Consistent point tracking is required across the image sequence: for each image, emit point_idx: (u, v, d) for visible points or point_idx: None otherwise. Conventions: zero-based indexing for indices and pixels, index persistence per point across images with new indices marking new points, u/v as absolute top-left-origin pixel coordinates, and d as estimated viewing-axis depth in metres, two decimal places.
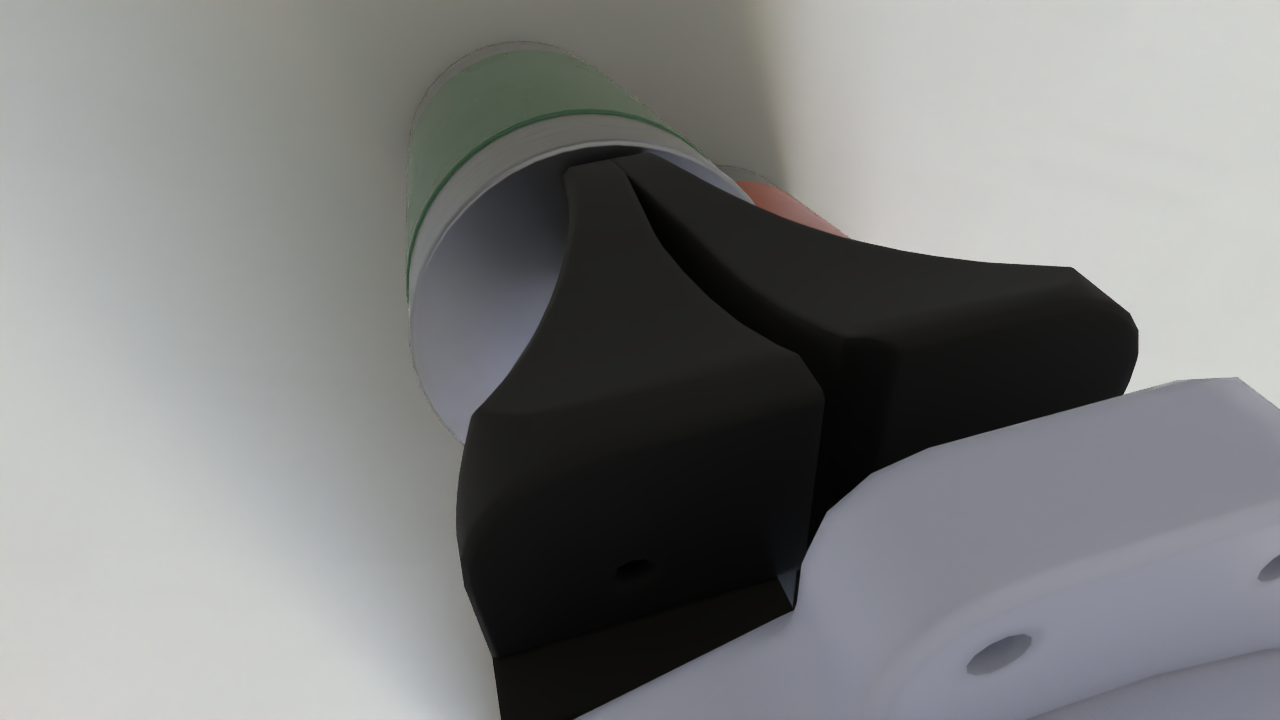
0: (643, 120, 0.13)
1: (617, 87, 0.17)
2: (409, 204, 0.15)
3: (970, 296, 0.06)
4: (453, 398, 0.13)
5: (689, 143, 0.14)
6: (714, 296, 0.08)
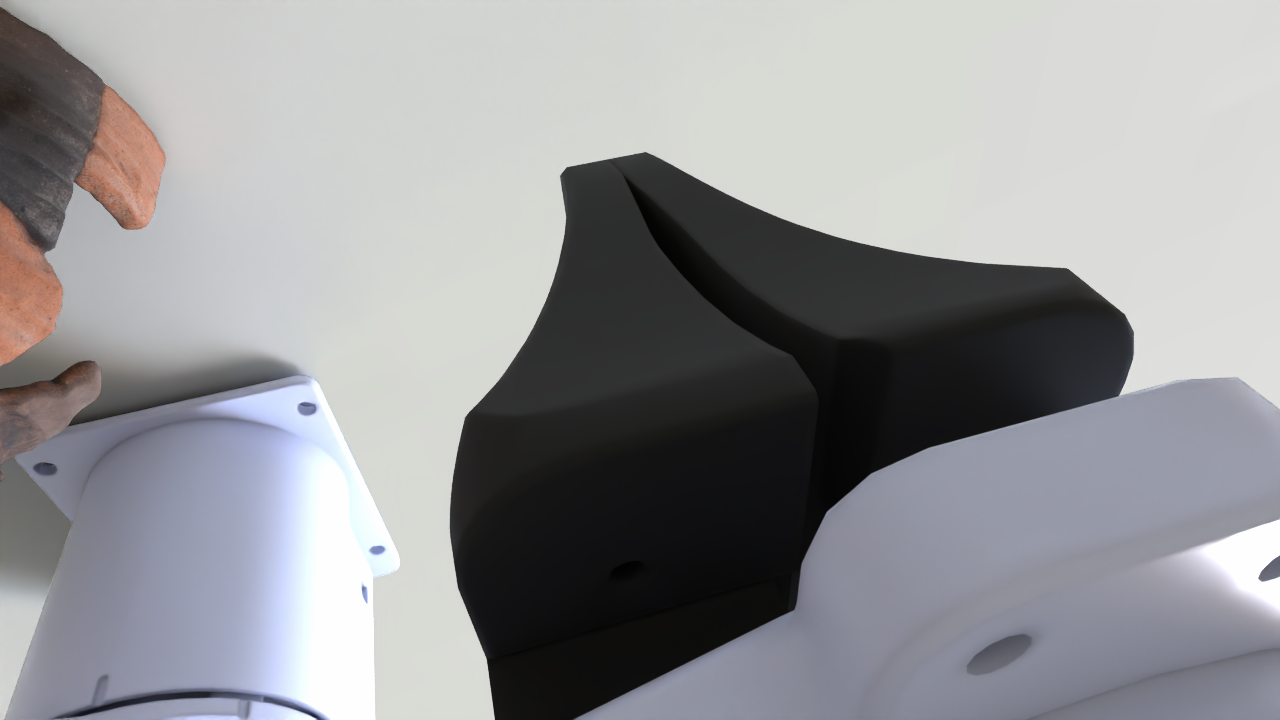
0: None
1: None
2: None
3: (964, 296, 0.06)
4: None
5: None
6: (710, 297, 0.08)
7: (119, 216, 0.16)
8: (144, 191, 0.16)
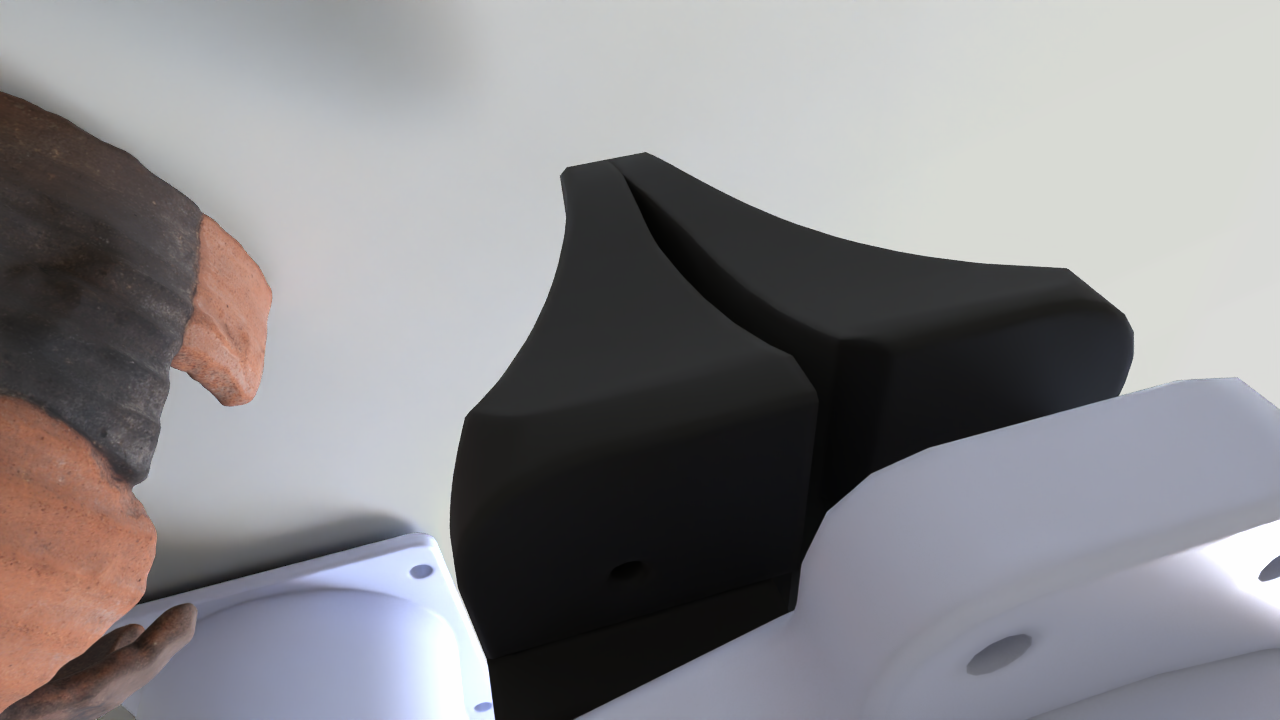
0: None
1: None
2: None
3: (966, 296, 0.06)
4: None
5: None
6: (710, 297, 0.08)
7: (220, 393, 0.12)
8: (253, 355, 0.12)
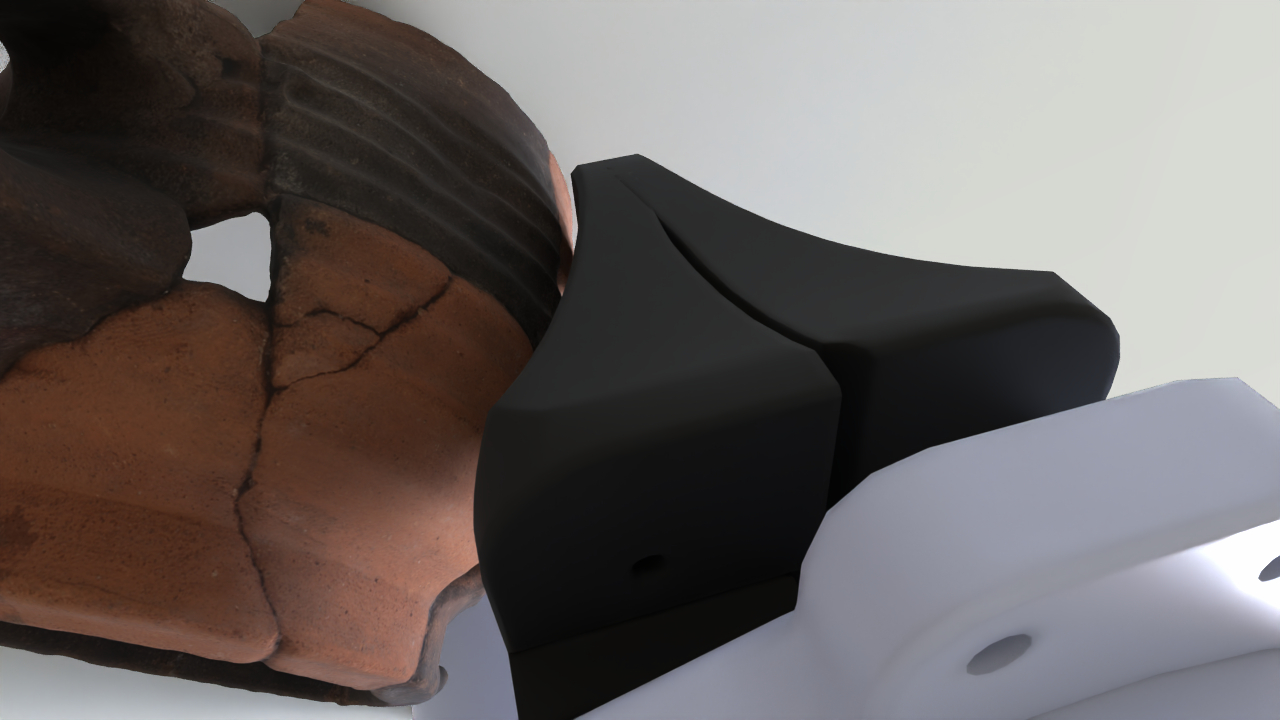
0: None
1: None
2: None
3: (951, 300, 0.06)
4: None
5: None
6: None
7: None
8: None
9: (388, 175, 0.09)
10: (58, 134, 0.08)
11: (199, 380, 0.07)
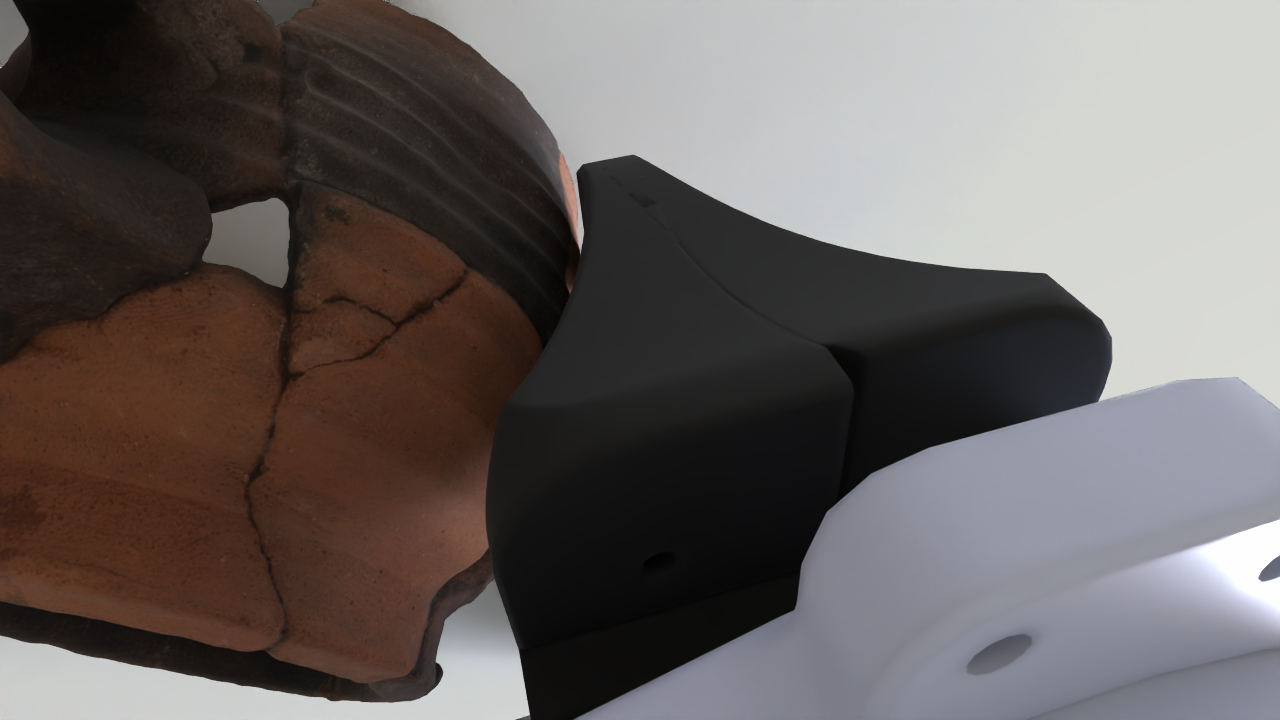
0: None
1: None
2: None
3: (941, 301, 0.06)
4: None
5: None
6: None
7: None
8: None
9: (407, 166, 0.09)
10: (78, 112, 0.08)
11: (217, 363, 0.07)
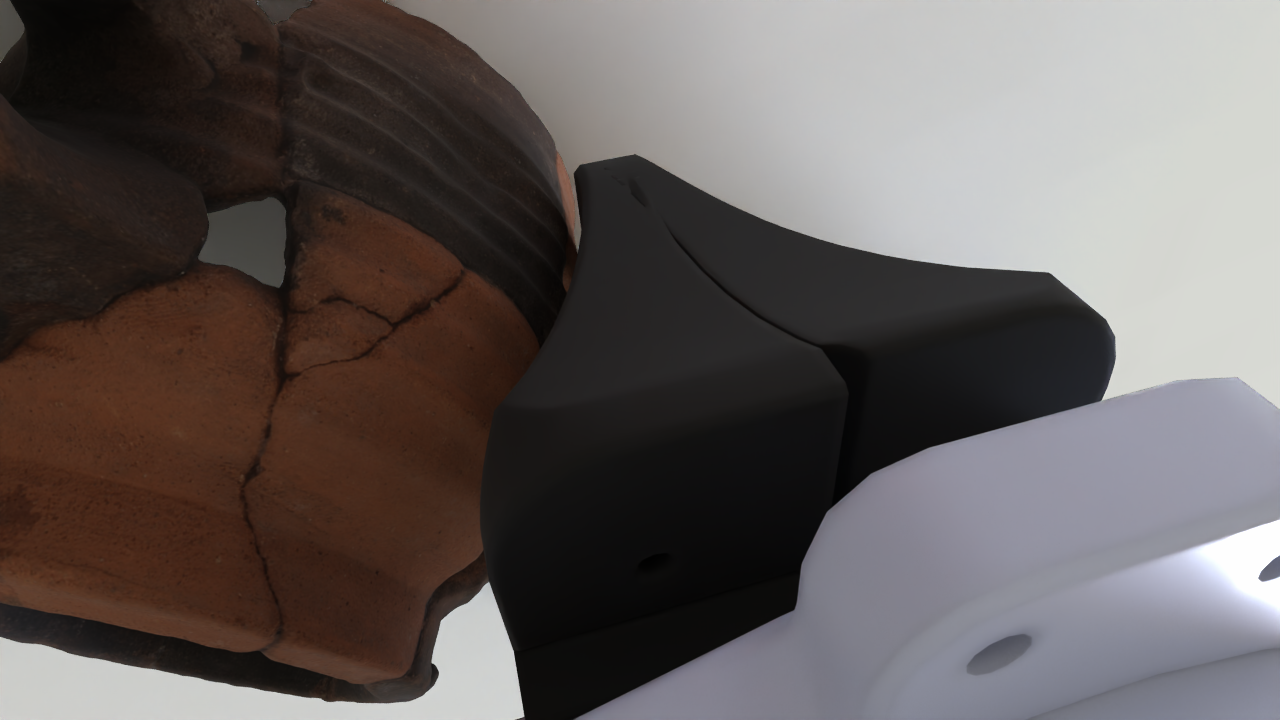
0: None
1: None
2: None
3: (945, 301, 0.06)
4: None
5: None
6: None
7: None
8: None
9: (404, 167, 0.09)
10: (74, 110, 0.08)
11: (212, 363, 0.07)
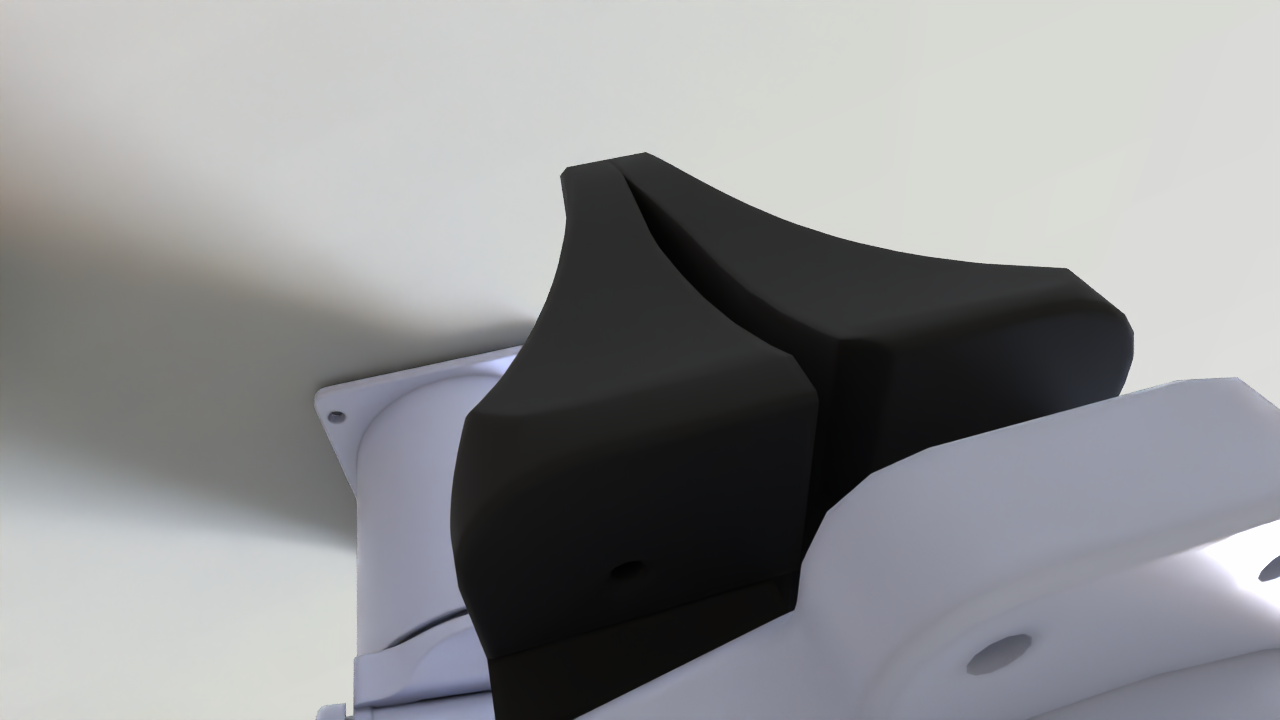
0: None
1: None
2: None
3: (964, 296, 0.06)
4: None
5: None
6: (710, 296, 0.08)
7: None
8: None
9: None
10: None
11: None
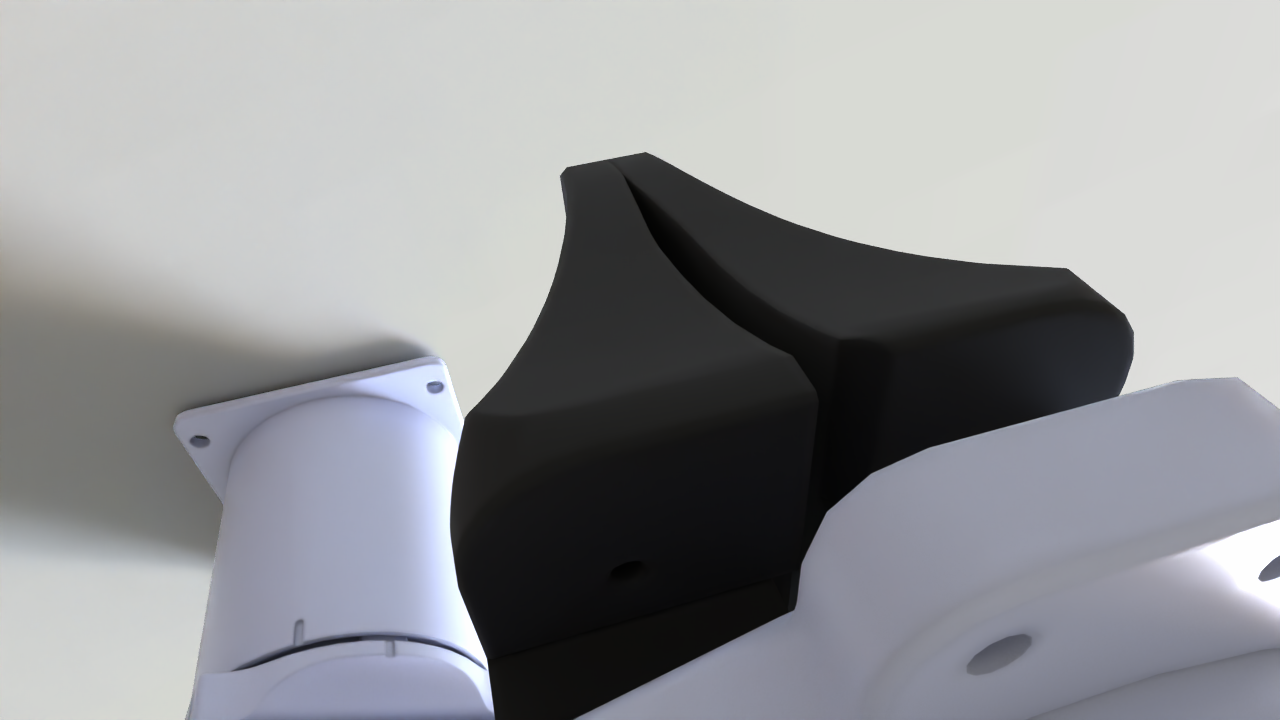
0: None
1: None
2: None
3: (966, 296, 0.06)
4: None
5: None
6: (710, 297, 0.08)
7: None
8: None
9: None
10: None
11: None
